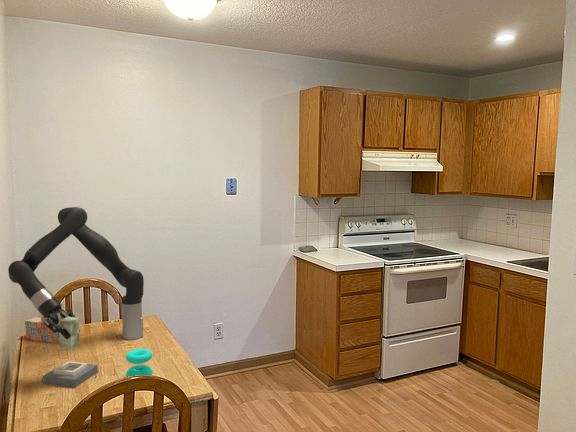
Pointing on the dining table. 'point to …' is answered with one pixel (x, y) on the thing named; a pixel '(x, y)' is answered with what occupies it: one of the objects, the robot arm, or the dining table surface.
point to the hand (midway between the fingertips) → (73, 335)
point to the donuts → (139, 362)
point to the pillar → (73, 328)
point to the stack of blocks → (40, 331)
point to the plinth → (70, 374)
